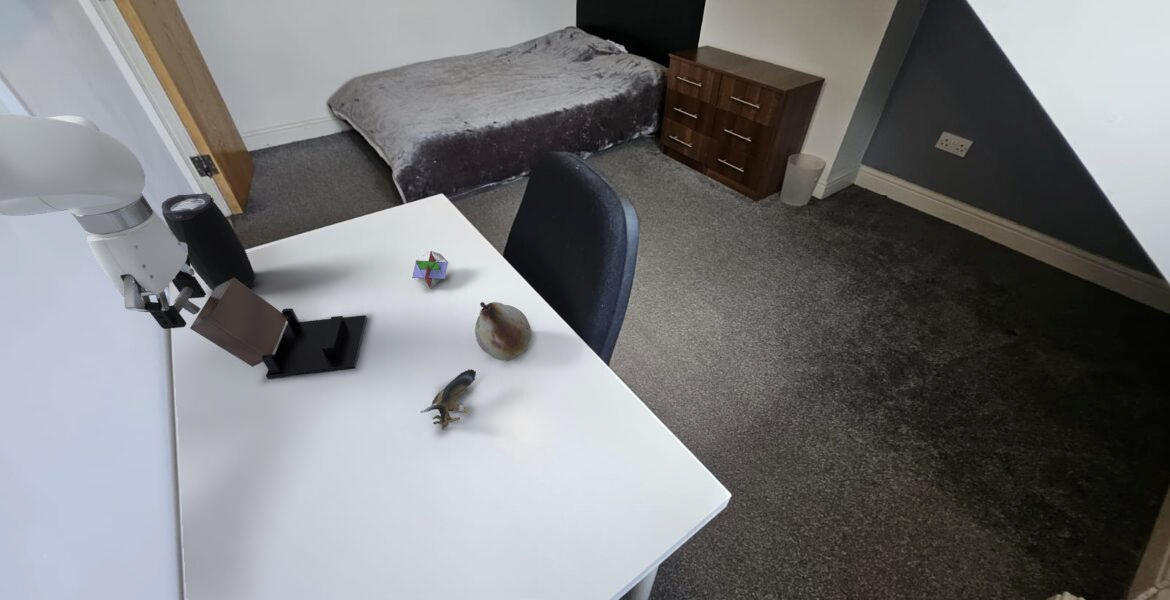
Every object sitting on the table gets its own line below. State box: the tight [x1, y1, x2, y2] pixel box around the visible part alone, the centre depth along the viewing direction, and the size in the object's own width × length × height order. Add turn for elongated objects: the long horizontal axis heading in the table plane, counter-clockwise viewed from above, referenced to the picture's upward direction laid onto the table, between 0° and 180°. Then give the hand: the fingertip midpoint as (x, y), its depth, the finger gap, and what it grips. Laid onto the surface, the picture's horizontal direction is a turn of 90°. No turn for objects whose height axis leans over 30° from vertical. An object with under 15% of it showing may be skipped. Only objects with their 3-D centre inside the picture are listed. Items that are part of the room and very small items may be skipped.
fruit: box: [474, 301, 532, 362], centre depth 82 cm, size 10×9×12 cm
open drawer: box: [170, 278, 288, 368], centre depth 78 cm, size 14×10×6 cm
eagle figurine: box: [420, 368, 477, 431], centre depth 74 cm, size 8×7×9 cm
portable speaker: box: [161, 192, 256, 292], centre depth 91 cm, size 9×9×20 cm
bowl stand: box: [261, 307, 368, 380], centre depth 84 cm, size 14×13×5 cm
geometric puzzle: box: [411, 250, 449, 290], centre depth 98 cm, size 7×7×8 cm
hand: (185, 310), depth 75 cm, fingers closed on open drawer, 6 cm apart
